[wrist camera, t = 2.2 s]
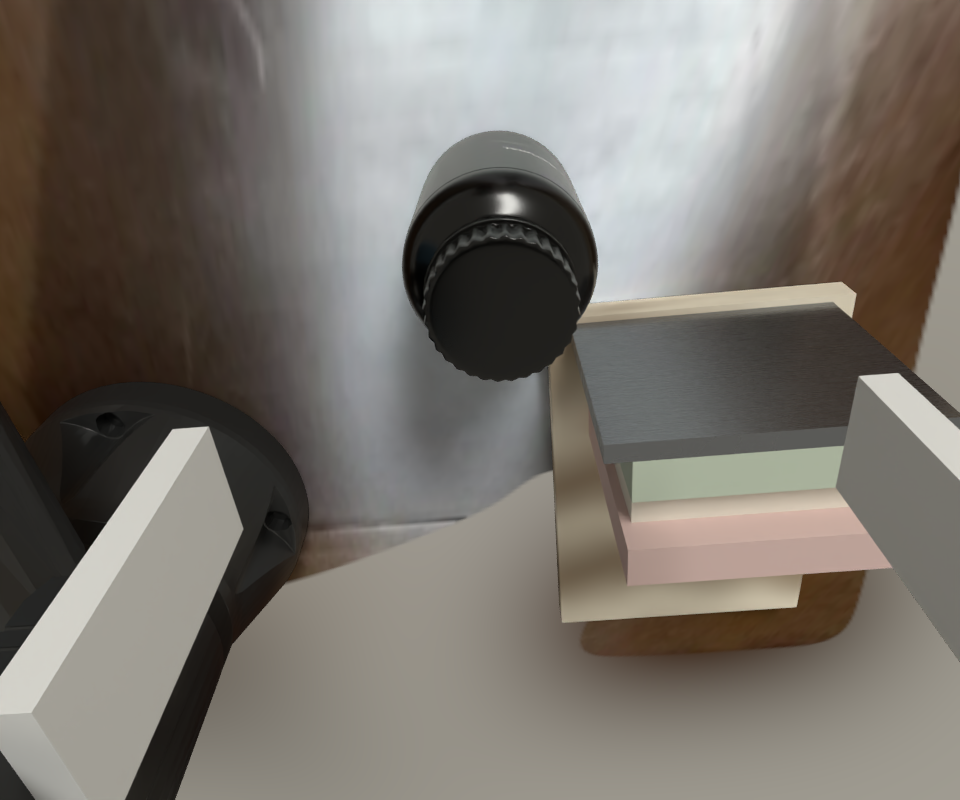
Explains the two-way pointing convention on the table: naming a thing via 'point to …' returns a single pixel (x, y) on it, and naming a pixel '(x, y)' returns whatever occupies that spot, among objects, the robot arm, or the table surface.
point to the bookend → (729, 381)
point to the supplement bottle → (499, 256)
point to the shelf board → (580, 498)
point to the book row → (733, 516)
